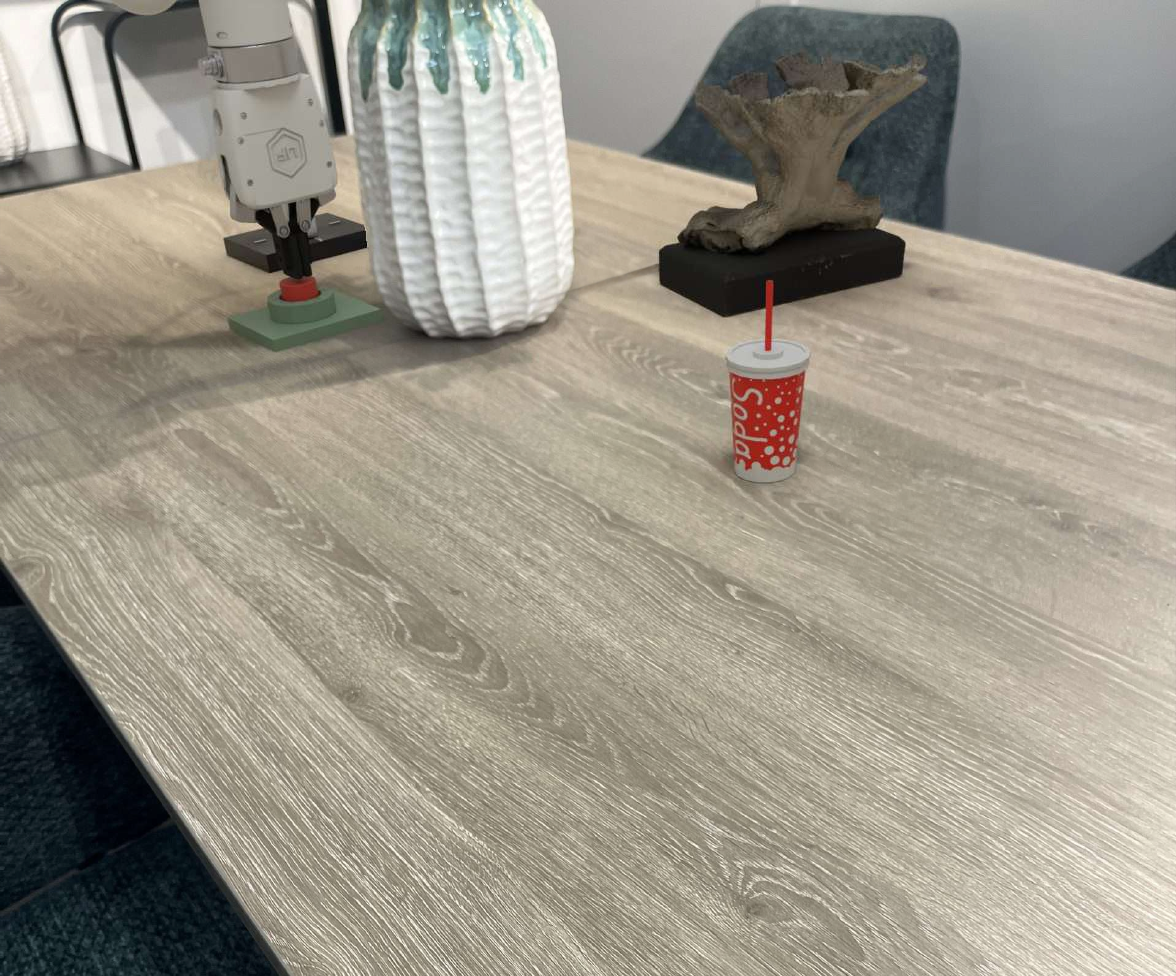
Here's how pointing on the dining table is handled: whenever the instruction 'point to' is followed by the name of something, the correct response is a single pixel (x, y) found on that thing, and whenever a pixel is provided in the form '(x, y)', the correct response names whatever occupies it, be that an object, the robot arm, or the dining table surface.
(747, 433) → the beverage cup
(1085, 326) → the dining table surface
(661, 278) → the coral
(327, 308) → the button block
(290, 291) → the button
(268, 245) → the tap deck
